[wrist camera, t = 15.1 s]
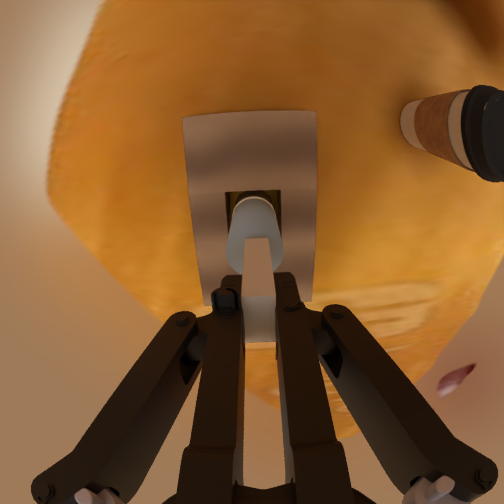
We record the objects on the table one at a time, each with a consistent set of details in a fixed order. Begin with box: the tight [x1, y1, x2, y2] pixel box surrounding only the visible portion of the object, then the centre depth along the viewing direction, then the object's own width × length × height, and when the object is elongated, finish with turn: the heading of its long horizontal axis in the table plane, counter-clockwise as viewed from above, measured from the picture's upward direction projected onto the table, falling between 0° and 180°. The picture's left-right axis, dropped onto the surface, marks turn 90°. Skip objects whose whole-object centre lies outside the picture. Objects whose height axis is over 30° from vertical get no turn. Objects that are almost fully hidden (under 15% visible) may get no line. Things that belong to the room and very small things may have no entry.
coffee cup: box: [400, 85, 504, 182], centre depth 19 cm, size 8×8×15 cm
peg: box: [226, 190, 284, 275], centre depth 25 cm, size 4×4×12 cm
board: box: [182, 110, 317, 306], centre depth 28 cm, size 20×12×4 cm, turn 3°
